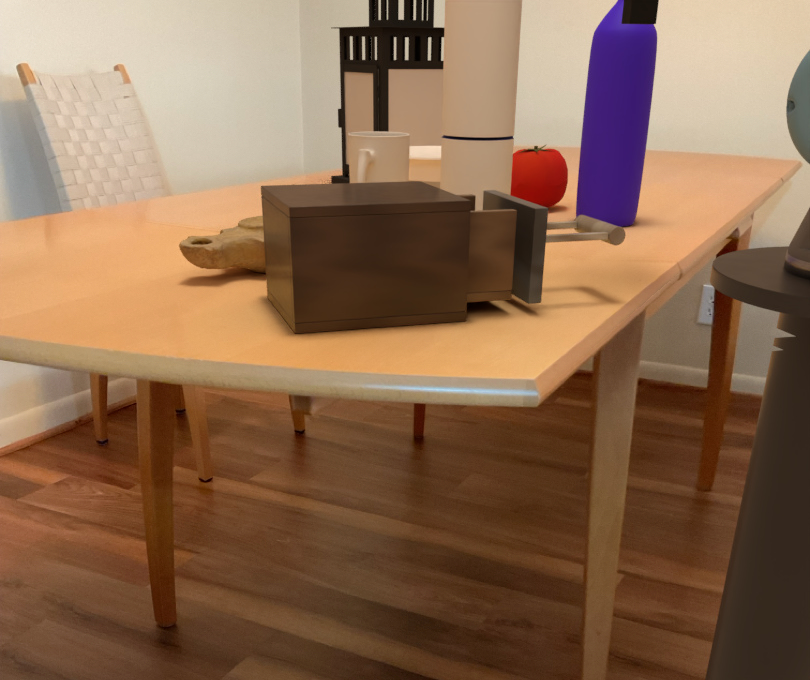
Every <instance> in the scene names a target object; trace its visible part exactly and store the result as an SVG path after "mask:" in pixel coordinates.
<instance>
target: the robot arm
mask: <svg viewBox="0 0 810 680" xmlns="http://www.w3.org/2000/svg"><path fill="white" fill-rule="evenodd" d="M659 2H660V0H624V4H623V14H622V23H621V24H654V25H656V24H657V17H658V11H659ZM785 110H786V111H785V112H786V113H785V114H786V125H787V129H788V133H789V134H788V135H789V136H790V139H791V142H792V144H793V146H794V147H795V149H796V150H797V152H798V154H799V155H800V156H801V157H802V159H803V160H804V161H805V162H806V163H807V164H809V165H810V49H809V50H808V51H807V52H806V53H805V55H804V56H803V58H802V59H801V61H800V62H799V64H798V66H797V68H796V70H795V72H794V74H793V77H792V79H791V81H790V85H789V88H788V93H787V97H786V107H785ZM788 246H789V248H788V250H787V252H786V257H785V262H784V269H785V270H786V271H787V272H789V273H791V274H793V275H795V276H798V277H801V278H805V279H808V280H810V207H808V210H807V211H806V213H805V215H804V217H803V219H802V221H801V223H800V224H799V226H798V228H797V230H796V232H795V234H794V236H793V237H792V239H791V240H790V243H789V245H788Z"/></svg>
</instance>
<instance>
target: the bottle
mask: <svg viewBox="0 0 810 680" xmlns="http://www.w3.org/2000/svg"><path fill="white" fill-rule="evenodd" d="M623 4H624V0H617V1H616V2H615V3H614V5H612V7H611V8H610V9H609V10H608V12H607V13H606V14H605V16H603V18H602V20H601V21H600V22H599V23H598V25H597V27H596V28H595V30H594V32H593V35H592V40H591V46H590V52H589V58H588V59H589V60H588V69H587V77H586V87H585V96H584V105H583V106H584V107H583V117H582V127H581V139H580V151H579V160H578V173H577V174H578V175H577V187H576V201H575V219H576V218H577V217H578V216H579V215H586V216H589V217H592V218H595V219H598V220H601V221H604V222H607V223H610V224H613V225H616V226H619V227H622V228H624V227H630V226H632V225H634V223H635V222H636V220H637V219H636V218H637V215H638V209H639V203H640V196H641V189H642V181H643V173H644V167H645V159H646V150H647V143H648V135H649V127H650V118H651V111H652V110H651V109H652V102H653V93H654V85H655V84H654V83H655V74H656V65H657V64H656V63H657V52H658V31H657V29H656V26H655V24H621V23H622V14H623Z"/></svg>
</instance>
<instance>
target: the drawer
mask: <svg viewBox="0 0 810 680" xmlns="http://www.w3.org/2000/svg"><path fill="white" fill-rule="evenodd" d="M458 196H460V197H463V198H465V199H468V200H471V210H470V212H471V214H470V238H469V262H468V286H467V303H477V302H478V303H479V302H480V303H481V302H493V301H508V300H509V301H510V300H512V296H514V297H516V298H517V299H519V300H521V301H523V302H525V303H526V304H528V305H532V304H533V305H535V304H542V295H543V283H544V282H543V281H544V280H543V279H544V272H545V271H544V269H545V259H546V258H545V257H546V244H547V243H548V244H549V243H568V242H570V243H571V242H589V241H590V242H591V241H601V242H603V243H607V244H609V245H612V246H619V245H621V244H623V242H624V241H625V238H626V231H625V229H624V227H619V226H616V225H613V224H610V223H607V222H604V221H601V220H598V219H595V218H592V217H589V216H586V215H579V216H578V217H577V218H576V217H575V219H574V220H565V221H564V220H563V221H548V220H549V208H546V207H543V206H540V205H538V204H535V203H532V202H529V201H526V200H523V199H520V198H517V197H514V196H511V195H508V194H505V193H502V192H499V191H496V190H484V191H483V210H478V211H475V199H476V196H475V195H473V194H468V195H458ZM572 229H574V231H575V232H573V233H572V232H571V233H569V232H568V233H551V234H549V233H547V231H550V230H551V231H553V230H572Z"/></svg>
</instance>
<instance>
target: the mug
mask: <svg viewBox="0 0 810 680" xmlns="http://www.w3.org/2000/svg"><path fill="white" fill-rule="evenodd" d="M348 141H349V174H350V183H373V182H408V181H409V154H410V134H408V133H402V132H380V131H372V132H353V133H349V134H348Z"/></svg>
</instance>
